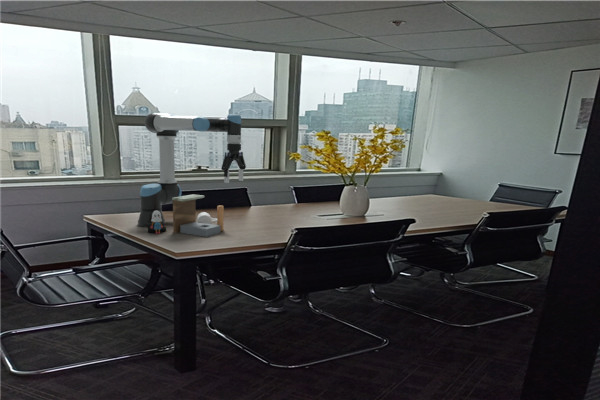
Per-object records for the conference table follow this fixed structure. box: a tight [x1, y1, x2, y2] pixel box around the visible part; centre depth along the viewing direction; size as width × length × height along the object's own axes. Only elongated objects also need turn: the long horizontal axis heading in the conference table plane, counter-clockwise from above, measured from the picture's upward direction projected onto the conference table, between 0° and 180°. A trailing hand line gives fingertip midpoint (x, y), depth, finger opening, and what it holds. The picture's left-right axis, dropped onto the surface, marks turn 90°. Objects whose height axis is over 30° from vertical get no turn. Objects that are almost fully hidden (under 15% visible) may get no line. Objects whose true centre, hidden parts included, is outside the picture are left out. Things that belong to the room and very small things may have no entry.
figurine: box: [147, 210, 167, 235], centre depth 239 cm, size 10×11×12 cm
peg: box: [216, 205, 225, 232], centre depth 247 cm, size 3×3×14 cm
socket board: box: [179, 221, 221, 237], centre depth 241 cm, size 18×12×4 cm, turn 63°
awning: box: [172, 193, 205, 234], centre depth 244 cm, size 8×17×19 cm, turn 153°
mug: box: [196, 211, 217, 224], centre depth 256 cm, size 12×10×8 cm
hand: (233, 181), depth 245 cm, fingers open, 13 cm apart
